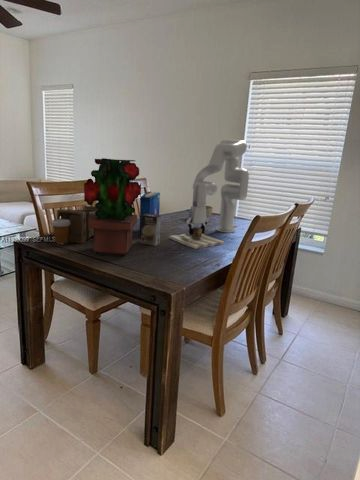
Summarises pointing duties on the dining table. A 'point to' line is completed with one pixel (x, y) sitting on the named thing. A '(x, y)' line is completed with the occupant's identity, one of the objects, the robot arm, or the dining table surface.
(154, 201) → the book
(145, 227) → the coffee box
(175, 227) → the dining table surface
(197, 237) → the dial pointer knob
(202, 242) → the dial plate
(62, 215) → the ornamental box
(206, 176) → the robot arm
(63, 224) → the disposable coffee cup
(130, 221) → the potted plant
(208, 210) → the planter bowl
